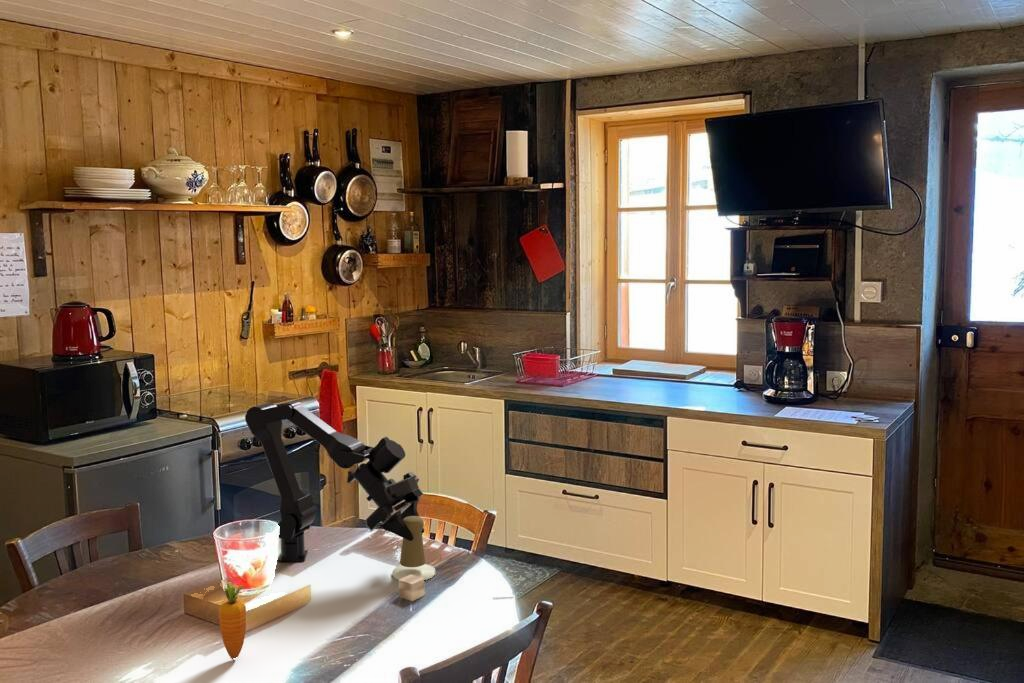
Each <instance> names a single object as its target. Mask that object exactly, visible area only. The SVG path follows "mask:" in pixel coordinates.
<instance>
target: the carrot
mask: <svg viewBox="0 0 1024 683" xmlns="http://www.w3.org/2000/svg"><path fill="white" fill-rule="evenodd" d="M244 587H245V586H244V585H240V586H238V587H237V585H235V584H233V585H232V582H231V581H230V582H228V583H226V587H225V588H224V594H225V596H226V599H227V600H226V601H224V602H223V603H221V604H220V605H219V607H218V617H219V629H220V634H221V637H222V642H223V645H224V648H225V650H226V652H227V655H228V656H229V658H230V659H231V658H236V657H238V658H239V655H240V654H241V651H242V649H243V646H244V642H245V637H246V636H245V635H246V632H247V631H246V629H247V628H246V627H247V608H246V604H245V602H244V601H242V600H239V599H238V598H239V595H238V594H239V592H240V591H241V590H242V589H243V588H244Z"/></svg>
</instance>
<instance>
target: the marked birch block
mask: <svg viewBox="0 0 1024 683" xmlns="http://www.w3.org/2000/svg"><path fill="white" fill-rule="evenodd" d="M425 594H426V593H425V581H424V578H421V577H418V576H415V575H409V576H406V577H404V578H402V579H400V580H399V581H398V598H401V599H403V600H407V601H410V602H414V601H415V600H419V599H420V598H422V597H424V596H425Z"/></svg>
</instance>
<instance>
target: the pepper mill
mask: <svg viewBox="0 0 1024 683" xmlns="http://www.w3.org/2000/svg"><path fill="white" fill-rule="evenodd" d="M403 522H404V523H405V525H406V526H407V528H408V529H409V530H410V532H411V534H412V535H413V537H414V539H413V540H412V541H409V540H407V539H405V538H403V537H402V543H401V553H400V559H399V564H400V566H401V565H402V566H405V567H419V566H422V565H424V564H427V563H426V561H427V560H426V555H425V554H426V553H425V546H424V541H423V533H422V532H421V531H422V529H423V528H424V525H425V522H424V520H423V518H422V517H421V516H419V517H418V516H408V517H405V518H404V519H403Z"/></svg>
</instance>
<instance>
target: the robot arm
mask: <svg viewBox="0 0 1024 683" xmlns="http://www.w3.org/2000/svg"><path fill="white" fill-rule="evenodd" d="M244 420H245V423H246V426H247V428H249V431H250V432H251V434H252V435H253V436H254V437H255V438H256V439H257V440H258V441H259V442H260V444H261V445H262V448H263V451H264V454H265V457H266V460H267V463H268V466H269V469H270V471H271V473H272V476H273V480H274V482H275V485H276V487H277V490H278V492H279V493H278V494H279V496H280V503H279V515H280V521H279V522H278V523H277V524H278V525H279V526H280V535H279V538H278V539H280V554H279V556H278V558H277V562H278V563H285V562H305V561H306V558H307V556H308V553H309V551H308V549H305V547H306V546H305V532H306V531H307V530H310V528H311V526H312V525H311V524H312V523H314V521H315V519H316V517H317V512H316V510H317V509H318V508H317V506H316V505H315V503H314V499H313V496H312V494H311V493H309V494H307V495H306V494H305V493H304V491H302V490H301V489H300V485H299V483H298V480H297V478H296V475H295V474H296V473H295V472H294V470H293V466H292V463H291V460H290V457H289V455H288V451H287V449H286V447H285V444H284V441H283V438H282V428H283V421H285V420H287V421H289V423H290V422H291V423H292V424H293V425H295V427H297V428H298V429H300V430H301V431H303V433H305V434H306V435H308V436H309V437H311V439H312V440H314V441H315V442H317V443H318V444H320V446H322V448H324V449H325V451H326V452H327V455H328V456H329V458H330V459H331V460H332V461H333V462H334V463H335V464H336V465H337V466H338V467H339V468H341V469H350V468H352V467H354V466H357V465H358V464H359V465H358V466H357V467H356V468H355V469H351V470H348V471H347V480H346V483H348V484H350V483H352V482H354V481H357V483H358V485H360V486H361V488H362V489H363V490H364V492H365V493H366V495H367V497H366V500H367V501H368V502H371V501H373V503H374V504H375V505H376V506H377V508H376V509H374V511H373V512H372V513H371V514H370V515H369V516H368V517H367V518H366V519H365V525H366V527H367V528H368V529H369V530H370V532H372V531H374V530H375V529H377V528H379V529H380V530H384V531H387V532H390V533H392V534H394V535H396V536H399V537H400V538H402V539H403V538H405V539H407V540H409V541H412V540H413V539H414V537H413V535H412V534H411V532H410V530H409V529H408V528H407V526H406V525H405V523H404V522H403V519H404V518H405V517H408V516H418V517H420V515H419V512H418V503H419V502H420V501H419V499H421V498H422V497H423V496H424V493H423V492H422V490H421V489H420V487H419V484H418V483H419V480H420V478H419V477H418V476H417V475H416V474H414V472H413V471H409V472H407V473H404V474H403V477H402V479H401V480H398V481H397V482H396V480H395V479H393V478H390V479H388V478H387V477H386V476H385V475H384V474H388V473H390V472H391V471H392V470H393V469H394V468H395V467H397V465H398V464H400V462H402V461H403V460H404V459H405V457H406V452H405V450H404V448H403V447H402V445H401V444H399V443H398V442H396V441H394V440H393V439H392V440H391V439H390V438H389V437H388V436H384V437H382V438H381V439H380V440H379V441H378V443H377V444H376V445H375V446H369V445H365V443H364V442H362V441H360V440H359V439H357V438H354V437H353V436H351V435H349V434H343V433H341V432H339V431H337V430H336V429H334V428H333V427H332V426H330V425H329V424H327V422H325V421H324V420H322V419H321V418H319V416H317V415H315V414H314V413H313V412H312V411H310V410H309V409H308V408H306V407H305V406H304V405H303V404H302V403H301V402H300V401H298V400H293V401H290V402H283V403H278V404H274V403H273V402H270V401H269V402H265V403H261V404H257V405H255V406H252V407H250V408H248V410H247V411H246V414H245V415H244ZM367 460H368V461H367ZM365 461H367V462H366V463H363V462H365ZM380 523H381V525H380V526H379V524H380ZM421 532H422V534H424V533H425V529H424V527H423V529H422V531H421Z"/></svg>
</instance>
